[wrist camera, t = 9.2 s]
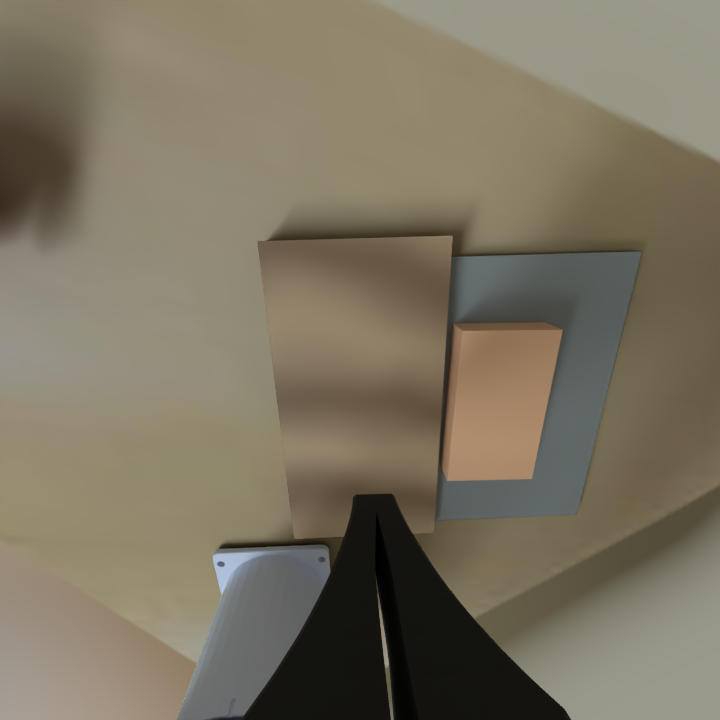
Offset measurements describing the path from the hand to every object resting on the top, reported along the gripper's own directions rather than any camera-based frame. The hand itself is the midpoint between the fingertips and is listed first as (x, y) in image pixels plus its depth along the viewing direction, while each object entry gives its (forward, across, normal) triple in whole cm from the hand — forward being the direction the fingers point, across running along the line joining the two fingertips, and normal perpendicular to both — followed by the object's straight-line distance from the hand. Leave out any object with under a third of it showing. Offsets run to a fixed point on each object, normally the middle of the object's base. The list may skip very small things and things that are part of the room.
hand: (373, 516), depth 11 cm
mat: (+9, -9, 0) cm, 13 cm away
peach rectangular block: (+8, -7, 0) cm, 10 cm away
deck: (+9, 0, 0) cm, 9 cm away
